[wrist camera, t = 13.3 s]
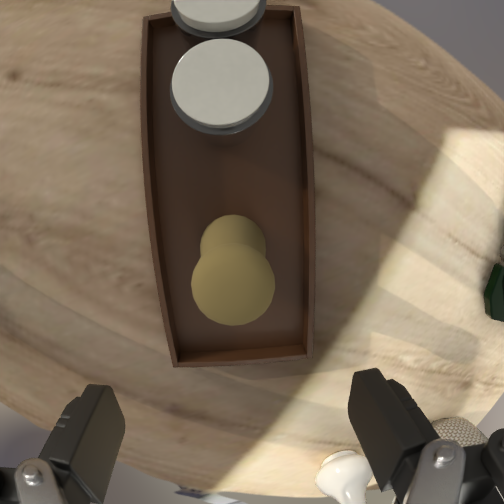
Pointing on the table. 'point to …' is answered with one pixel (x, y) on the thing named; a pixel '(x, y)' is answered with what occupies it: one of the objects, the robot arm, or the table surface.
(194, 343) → the tray
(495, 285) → the flat green button pad
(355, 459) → the flower vase
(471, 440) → the planter
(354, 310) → the table surface
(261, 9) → the black shaker
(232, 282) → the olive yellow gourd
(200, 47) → the cylinder
